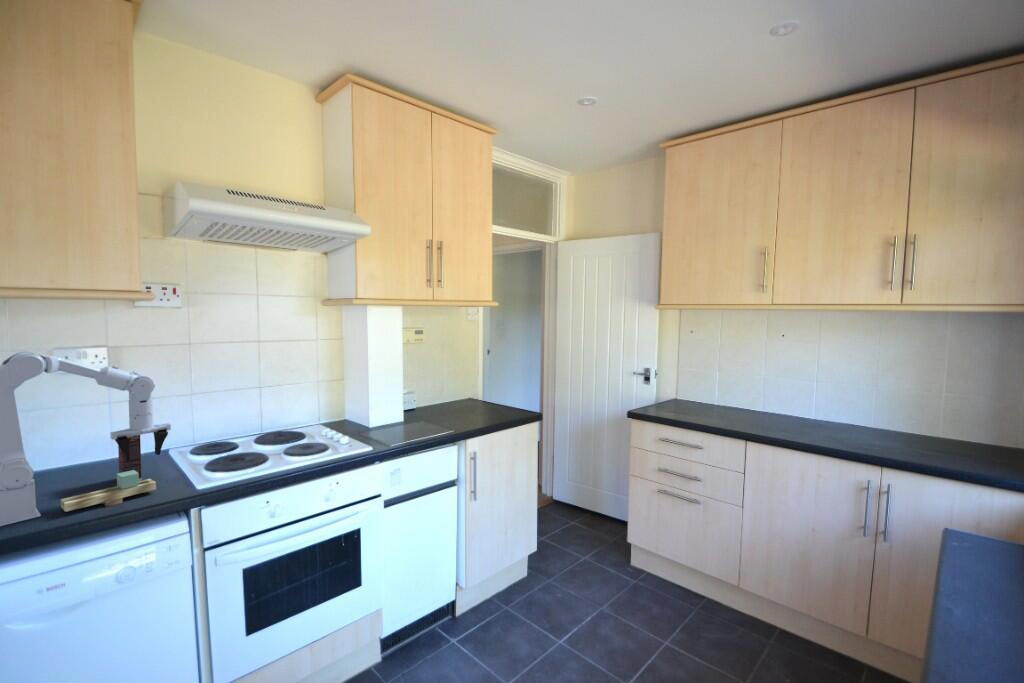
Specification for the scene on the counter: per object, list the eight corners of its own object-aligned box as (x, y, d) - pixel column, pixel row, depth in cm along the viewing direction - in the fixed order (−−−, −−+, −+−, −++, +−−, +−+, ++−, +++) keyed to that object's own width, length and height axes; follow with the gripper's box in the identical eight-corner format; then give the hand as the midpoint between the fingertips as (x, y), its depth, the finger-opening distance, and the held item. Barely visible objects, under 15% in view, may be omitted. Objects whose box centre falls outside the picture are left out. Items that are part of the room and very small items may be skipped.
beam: (66, 516, 122) (65, 504, 122) (60, 510, 126) (60, 498, 126) (157, 493, 139) (156, 482, 138) (149, 488, 142) (149, 477, 142)
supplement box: (142, 480, 149) (140, 432, 148) (123, 484, 145) (121, 435, 145) (137, 474, 155) (135, 428, 154) (118, 478, 151) (116, 430, 150)
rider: (122, 493, 132) (121, 476, 132) (117, 489, 135) (116, 473, 135) (139, 488, 136) (138, 473, 135) (134, 485, 138) (133, 469, 138)
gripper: (114, 420, 133) (116, 465, 134) (173, 411, 145) (175, 453, 146) (107, 416, 137) (109, 461, 138) (165, 408, 149) (166, 449, 150)
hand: (142, 457), depth 142 cm, fingers open, 7 cm apart
